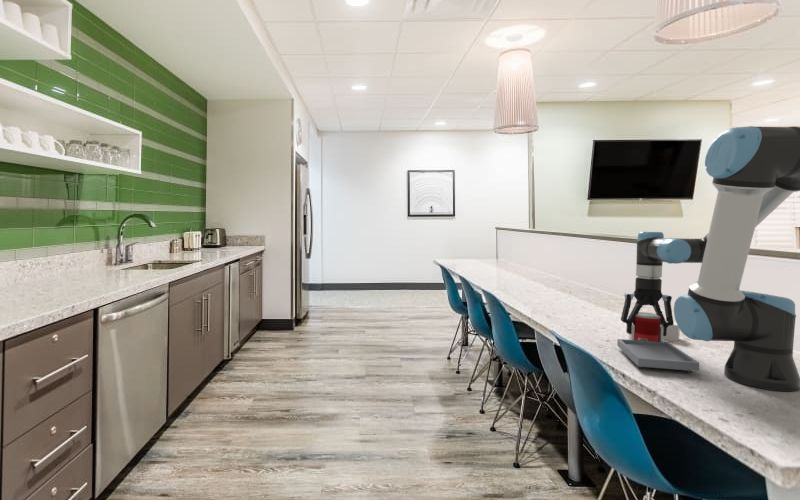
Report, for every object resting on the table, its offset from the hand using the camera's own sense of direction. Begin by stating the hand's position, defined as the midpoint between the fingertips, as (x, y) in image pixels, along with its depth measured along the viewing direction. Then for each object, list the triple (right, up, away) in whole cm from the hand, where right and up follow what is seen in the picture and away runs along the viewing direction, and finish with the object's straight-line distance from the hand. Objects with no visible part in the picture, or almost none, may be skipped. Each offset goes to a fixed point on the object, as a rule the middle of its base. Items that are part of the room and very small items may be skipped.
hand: (645, 344), depth 140 cm
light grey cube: (+15, -1, +11) cm, 18 cm away
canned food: (0, -1, 0) cm, 1 cm away
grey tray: (-7, -2, -16) cm, 17 cm away
